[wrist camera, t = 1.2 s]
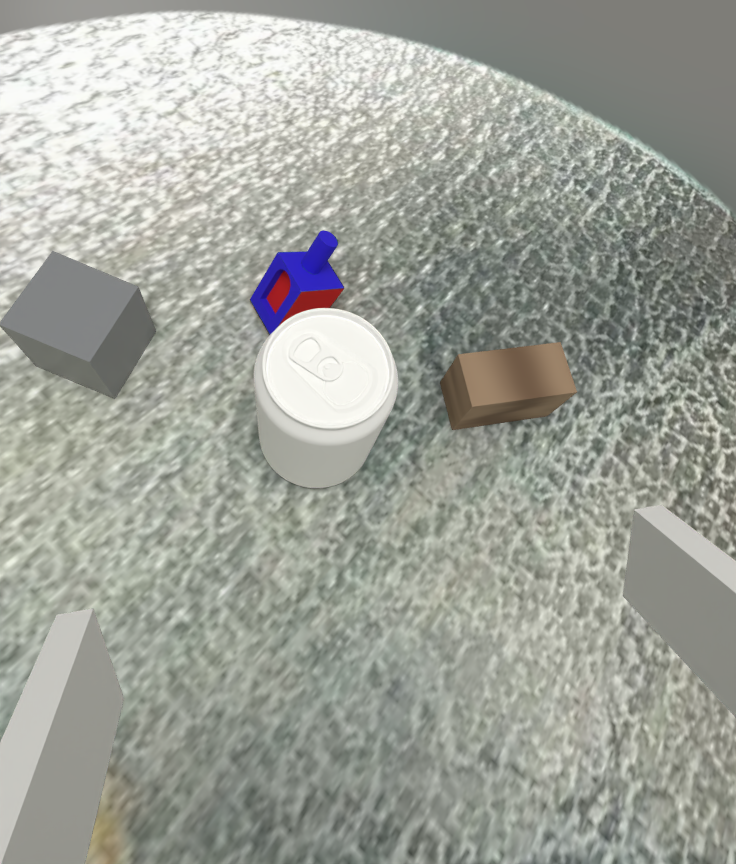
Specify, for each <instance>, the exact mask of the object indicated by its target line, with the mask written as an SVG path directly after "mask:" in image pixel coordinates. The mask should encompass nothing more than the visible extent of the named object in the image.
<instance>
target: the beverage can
mask: <svg viewBox="0 0 736 864" xmlns="http://www.w3.org/2000/svg"><path fill="white" fill-rule="evenodd" d="M254 390H255V400H256V410H257V420H258V430H259V440H260V445H261V449H262V452H263V454H264V457H265V459H266V460H267V462H268V463H269V465H270V466H271V467H272V469H273V470H274V471H275V472H276V473H277V474H279V475H280V476H281V477H283V478H284V479H286V480H287V481H289V482H291V483H293V484H296V485H299V486H302V487H307V488H326V487H331V486H334V485H337V484H340V483H342V482H344V481H345V480H347V479H349V478H350V477H351V476H353V475H354V474H355V473H356V472H357V471H358V470H359V469H360V468H361V466H362V465H363V463H364V462H365V460H366V458H367V456H368V454H369V453H370V451H371V449H372V447H373V445H374V443H375V441H376V439H377V437H378V435H379V433H380V431H381V429H382V427H383V425H384V423H385V421H386V419H387V418H388V416H389V414H390V412H391V410H392V408H393V405H394V403H395V399H396V396H397V390H398V374H397V368H396V364H395V361H394V358H393V356H392V354H391V351H390V349H389V346H388V344H387V343H386V341H385V339H384V338H383V336H382V335H381V334H380V333H379V331H378V330H377V329H376V328H375V327H374V326H372V325H371V324H370V323H369V322H367V321H366V320H364V319H363V318H361V317H359V316H357V315H355V314H353V313H350V312H347V311H344V310H340V309H333V308H317V309H311V310H306V311H303V312H300V313H298V314H296V315H294V316H292V317H290V318H288V319H287V320H285V321H284V322H283V323H282V324H281V325H279V326H278V327H277V328H276V330H274V331H273V332H272V333H271V334H270V336H269V337H268V338H267V339H266V341H265V342H264V344H263V345H262V347H261V349H260V351H259V353H258V356H257V359H256V362H255V367H254Z"/></svg>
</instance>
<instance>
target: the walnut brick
mask: <svg viewBox="0 0 736 864" xmlns="http://www.w3.org/2000/svg"><path fill="white" fill-rule="evenodd" d="M440 385H441V389H442V393H443V396H444V400H445V404H446V408H447V412H448V416H449V420H450V424H451V428H452V430H456V429H463V428H470V427H477V426H484V425H490V424H497V423H504V422H511V421H518V420H525V419H531V418H538V417H545V416H548V415H549V414H550V413H552V412H553V411H554V410H555V409H557V408H558V407H559V406H560V405H562V404H563V403H564V402H565V401H567V400H568V399H569V398H570V397H572V396H573V395H574V394H575V393H577V391H576V388H575V385H574V382H573V379H572V376H571V372H570V369H569V366H568V363H567V360H566V357H565V354H564V351H563V348H562V345H561V342H559V343H550V344H542V345H534V346H525V347H517V348H508V349H500V350H492V351H483V352H475V353H466V354H458V356H457V357H456V359H455V360H454V362H453V363H452V365H451V366H450V368H449V369H448V371H447V372H446V374H445V375H444V377H443V379H442V380H441V382H440Z"/></svg>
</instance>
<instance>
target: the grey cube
mask: <svg viewBox="0 0 736 864" xmlns="http://www.w3.org/2000/svg"><path fill="white" fill-rule="evenodd" d="M0 327H1V328H2V329H3V330H4V331H5V332H6V333H7V334H8V335H9V337H10V338H11V339H12V340H13V341H14V342H15V343H16V344H17V345H18V346H19V348H20V349H21V350H22V351H23V352H24V353H25V354H26V355H27V356H28V358H29V359H30V360H31V361H32V362H33V363H34V364H35V365H36V366H37V367H39V368H42V369H44V370H46V371H49V372H51V373H54V374H56V375H58V376H61V377H63V378H66V379H68V380H71V381H73V382H75V383H78V384H80V385H83V386H85V387H87V388H90V389H92V390H95V391H97V392H99V393H102V394H104V395H107V396H109V397H111V398H114V399H115V398H116V397H117V395H118V393H119V392H120V390H121V388H122V387H123V385H124V384H125V382H126V380H127V379H128V377H129V375H130V374H131V372H132V370H133V369H134V367H135V365H136V364H137V362H138V360H139V359H140V357H141V356H142V354H143V352H144V351H145V349H146V347H147V346H148V344H149V342H150V341H151V339H152V337H153V336H154V334H155V333H156V329H155V327H154V324H153V322H152V319H151V317H150V315H149V312H148V310H147V307H146V305H145V302H144V300H143V297H142V295H141V292H140V290H139V287H138V286H135V285H133V284H131V283H128V282H126V281H123V280H121V279H119V278H116V277H114V276H111V275H109V274H107V273H104V272H102V271H99V270H97V269H95V268H92V267H90V266H87V265H85V264H83V263H80V262H78V261H76V260H73V259H71V258H68V257H66V256H64V255H61V254H59V253H56V252H54V251H52V253H51V254H50V255H49V257H48V258H47V259H46V261H45V262H44V263H43V265H42V266H41V268H40V269H39V270H38V272H37V273H36V274H35V276H34V277H33V278H32V280H31V281H30V282H29V284H28V285H27V286H26V288H25V289H24V291H23V292H22V293H21V295H20V296H19V297H18V299H17V300H16V301H15V303H14V304H13V305H12V307H11V308H10V310H9V311H8V312H7V314H6V315H5V316H4V318H3V319H2V320H1V322H0Z"/></svg>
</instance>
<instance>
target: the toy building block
mask: <svg viewBox="0 0 736 864" xmlns="http://www.w3.org/2000/svg"><path fill="white" fill-rule="evenodd" d="M337 246H338V240H337V239H336V237H335V236H334V235H333V234H331V233H330V232H328V231H324V230H323V231H321V232H320V233H319V234H318V236H317V237H316V239H315V240H314V242H313V243H312V245H311V247H310V248H309V250H308V251H307V252H278V253H277V255H276V256H275V258H274V260H273V261H272V263H271V265H270V267H269V268H268V270H267V272H266V273H265V275H264V277H263V278H262V280H261V282H260V284H259V285H258V287H257V289H256V290H255V292H254V294H253V295H252V297H251V299H250V300H251V302H252V304H253V306H254V307H255V309H256V311H257V313H258V314H259V316H260V318H261V320H262V321H263V323H264V325H265V327H266V328H267V330H268V332H269V334H271V333H272V332H273V331H274V330H276V328H277V327H278V326H279V325H281V324H282V323H283V322H284V321H285V320H287V319H288V318H290V317H292V316H294V315H296V314H298V313H300V312H303V311H306V310H311V309H317V308H330V307H331V305H332V304H333V303H334V301H335V300H336V299H337V297H338V296H339V295H340V293H341V292H342V291H343V289H344V286H343V285H342V283H341V282H340V280H339V278H338V277H337V275H336V273H335V272H334V270H333V269H332V267H331V265H330V264H329V262H328V261H327V260H328V259H329V257H330V256H331V255H332V253H333V252H334V250H335V249H336V247H337Z"/></svg>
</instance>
